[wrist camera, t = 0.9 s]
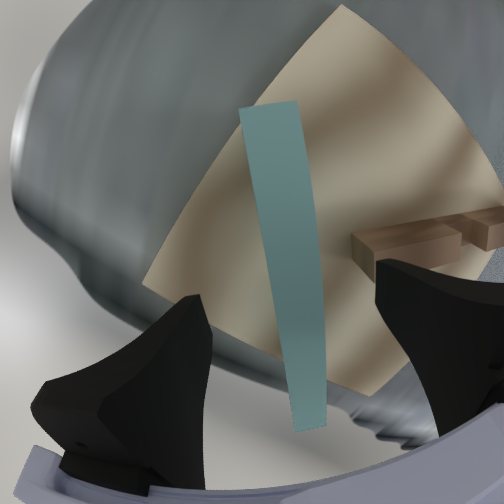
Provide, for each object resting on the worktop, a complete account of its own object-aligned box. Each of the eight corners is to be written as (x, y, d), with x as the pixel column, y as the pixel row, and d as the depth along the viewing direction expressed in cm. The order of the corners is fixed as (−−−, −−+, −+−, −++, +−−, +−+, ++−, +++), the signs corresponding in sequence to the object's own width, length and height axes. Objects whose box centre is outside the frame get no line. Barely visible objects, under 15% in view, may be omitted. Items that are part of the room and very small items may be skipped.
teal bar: (241, 128, 12) (238, 108, 7) (274, 123, 12) (296, 100, 6) (282, 358, 17) (295, 432, 11) (306, 353, 17) (326, 426, 11)
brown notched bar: (502, 205, 14) (529, 216, 11) (501, 225, 14) (526, 237, 11) (351, 232, 14) (374, 252, 11) (352, 259, 15) (373, 283, 12)
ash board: (509, 211, 14) (514, 212, 14) (368, 391, 20) (370, 396, 19) (338, 8, 10) (341, 4, 9) (144, 279, 15) (141, 283, 15)
